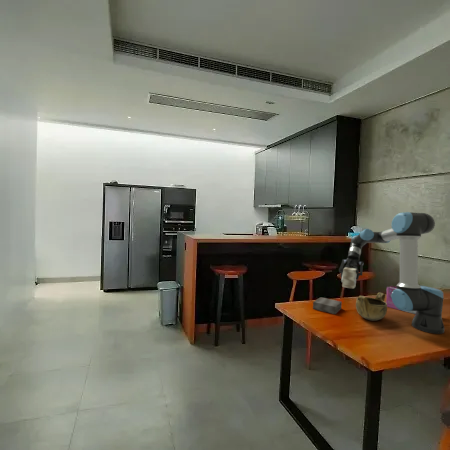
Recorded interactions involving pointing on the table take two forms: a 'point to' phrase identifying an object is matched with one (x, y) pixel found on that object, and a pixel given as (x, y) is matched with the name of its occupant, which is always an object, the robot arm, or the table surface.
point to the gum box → (389, 299)
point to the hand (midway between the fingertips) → (348, 282)
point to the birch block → (349, 277)
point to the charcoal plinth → (327, 305)
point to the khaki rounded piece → (372, 307)
